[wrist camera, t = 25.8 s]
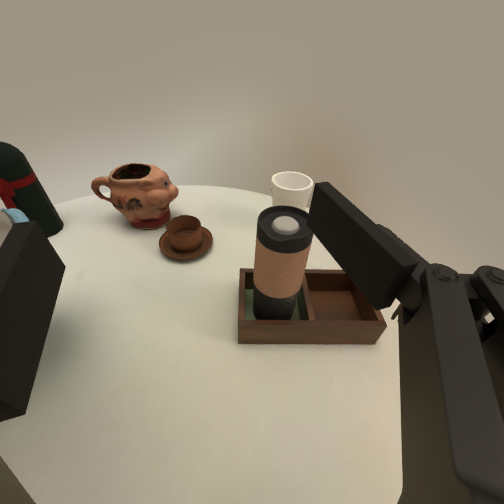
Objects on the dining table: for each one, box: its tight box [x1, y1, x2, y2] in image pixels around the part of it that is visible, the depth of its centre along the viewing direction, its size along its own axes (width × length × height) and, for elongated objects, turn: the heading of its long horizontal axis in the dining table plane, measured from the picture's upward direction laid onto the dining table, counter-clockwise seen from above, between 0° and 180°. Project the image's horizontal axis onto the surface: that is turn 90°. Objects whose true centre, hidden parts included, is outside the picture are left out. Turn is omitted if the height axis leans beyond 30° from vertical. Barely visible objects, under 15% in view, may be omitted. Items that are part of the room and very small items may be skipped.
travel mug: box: [253, 205, 313, 320], centre depth 40 cm, size 8×8×20 cm
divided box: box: [238, 268, 387, 344], centre depth 46 cm, size 12×23×6 cm, turn 91°
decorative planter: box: [91, 163, 178, 229], centre depth 63 cm, size 20×12×14 cm, turn 96°
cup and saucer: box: [159, 215, 213, 259], centre depth 58 cm, size 12×12×6 cm
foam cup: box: [271, 171, 313, 210], centre depth 63 cm, size 10×9×13 cm
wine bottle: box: [0, 142, 64, 238], centre depth 52 cm, size 8×10×30 cm
